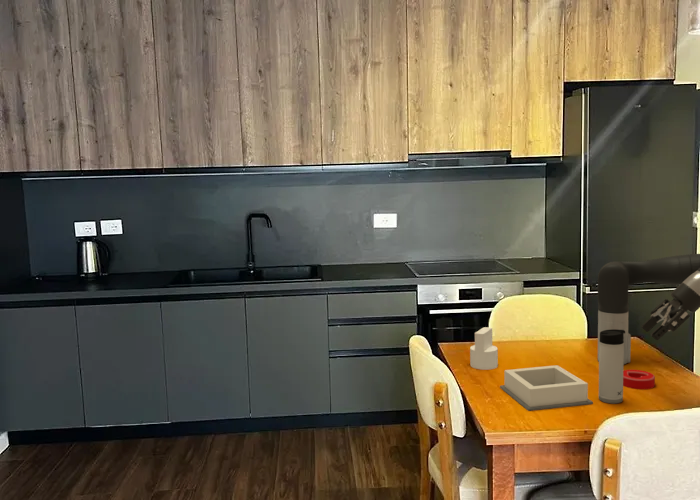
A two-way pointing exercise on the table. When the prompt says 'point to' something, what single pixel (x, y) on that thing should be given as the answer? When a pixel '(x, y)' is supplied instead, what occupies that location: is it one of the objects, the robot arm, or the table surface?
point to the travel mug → (611, 365)
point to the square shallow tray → (545, 388)
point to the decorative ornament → (638, 379)
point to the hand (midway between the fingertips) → (648, 333)
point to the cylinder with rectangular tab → (484, 351)
